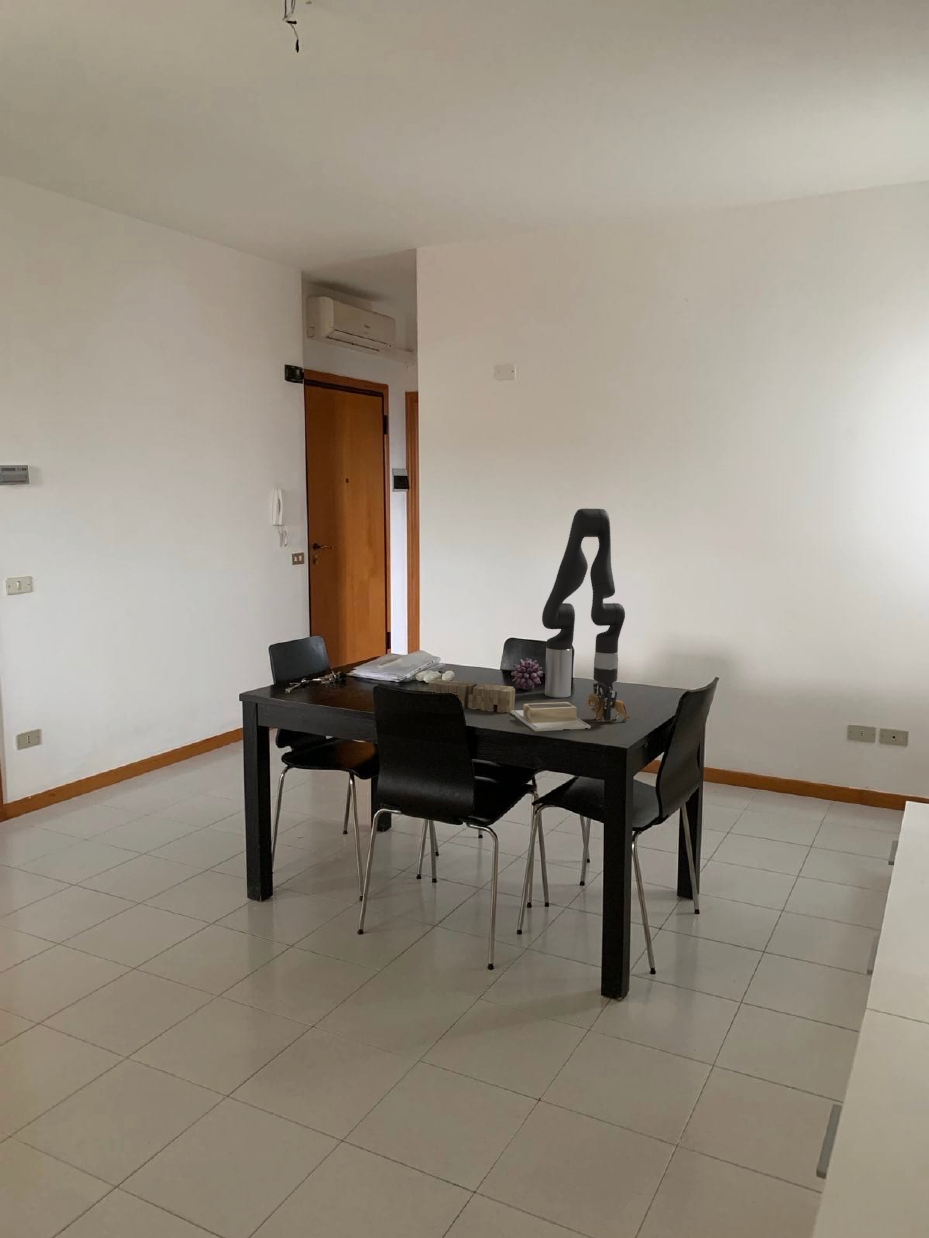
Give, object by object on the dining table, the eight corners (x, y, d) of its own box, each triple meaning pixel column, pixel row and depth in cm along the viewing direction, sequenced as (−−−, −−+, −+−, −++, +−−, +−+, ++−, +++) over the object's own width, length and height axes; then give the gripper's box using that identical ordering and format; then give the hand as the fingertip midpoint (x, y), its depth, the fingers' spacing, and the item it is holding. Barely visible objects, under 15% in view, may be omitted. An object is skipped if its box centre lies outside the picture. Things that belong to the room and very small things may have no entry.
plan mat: (511, 713, 299) (511, 710, 299) (562, 710, 304) (562, 707, 303) (535, 731, 276) (535, 728, 276) (590, 728, 281) (590, 725, 281)
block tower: (516, 711, 306) (437, 700, 317) (518, 687, 305) (438, 676, 316) (508, 716, 299) (428, 704, 310) (510, 691, 298) (429, 680, 308)
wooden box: (523, 716, 292) (523, 703, 291) (567, 714, 295) (567, 701, 295) (531, 722, 284) (531, 709, 283) (576, 719, 288) (576, 707, 287)
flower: (542, 687, 341) (543, 655, 340) (542, 693, 329) (543, 661, 328) (511, 685, 342) (512, 654, 341) (510, 692, 331) (511, 660, 329)
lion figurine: (589, 723, 287) (590, 695, 285) (583, 719, 292) (584, 692, 291) (632, 721, 290) (634, 694, 289) (626, 717, 295) (627, 690, 294)
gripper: (586, 661, 294) (584, 713, 297) (603, 670, 280) (601, 724, 283) (607, 661, 296) (605, 712, 298) (626, 669, 282) (623, 723, 285)
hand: (603, 718), depth 291 cm, fingers closed on lion figurine, 4 cm apart
